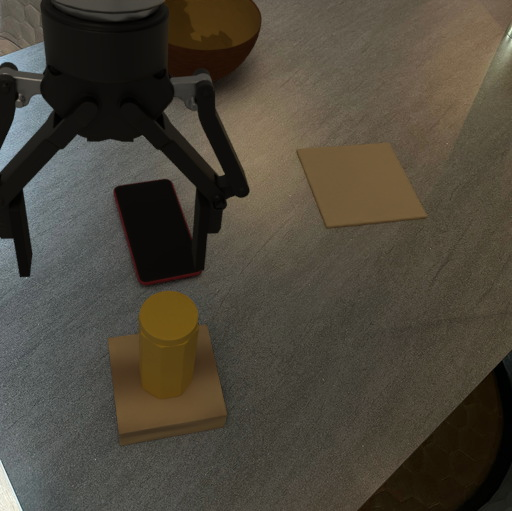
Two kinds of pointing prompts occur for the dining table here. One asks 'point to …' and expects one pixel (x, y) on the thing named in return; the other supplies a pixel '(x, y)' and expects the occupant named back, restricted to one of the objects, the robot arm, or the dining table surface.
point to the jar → (167, 343)
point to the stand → (170, 409)
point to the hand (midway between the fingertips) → (114, 262)
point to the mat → (359, 185)
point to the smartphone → (155, 231)
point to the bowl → (210, 35)
